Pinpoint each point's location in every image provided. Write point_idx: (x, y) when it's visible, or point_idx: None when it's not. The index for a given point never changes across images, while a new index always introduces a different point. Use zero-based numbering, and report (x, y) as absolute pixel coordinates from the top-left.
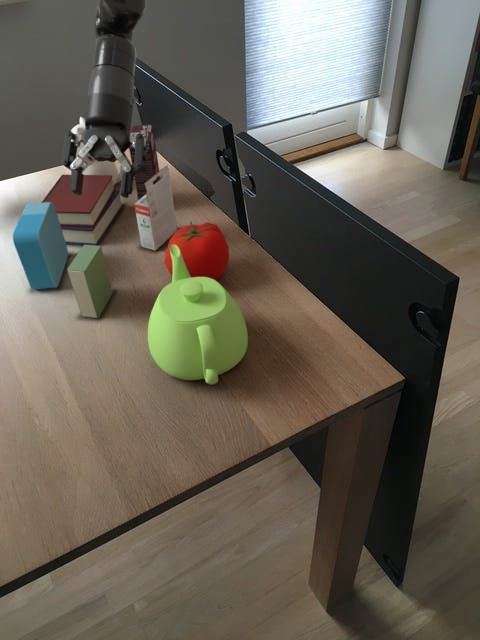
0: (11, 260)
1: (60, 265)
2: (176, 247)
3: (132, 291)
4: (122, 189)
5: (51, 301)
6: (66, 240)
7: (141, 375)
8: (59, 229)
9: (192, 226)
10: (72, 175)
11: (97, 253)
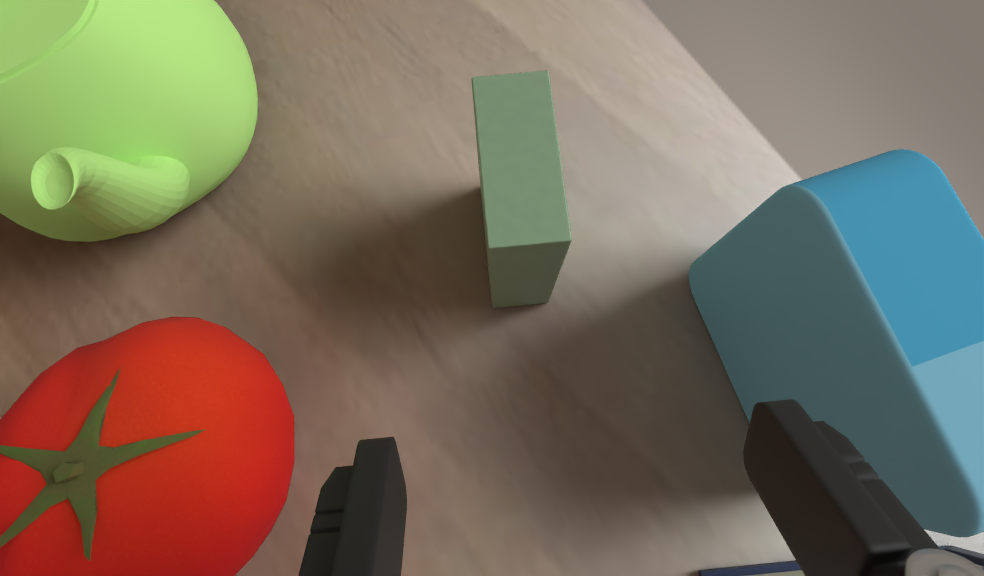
0: None
1: (737, 364)
2: (48, 202)
3: (429, 329)
4: (369, 459)
5: (667, 223)
6: None
7: (279, 34)
8: None
9: (83, 524)
10: (896, 517)
11: (483, 204)
